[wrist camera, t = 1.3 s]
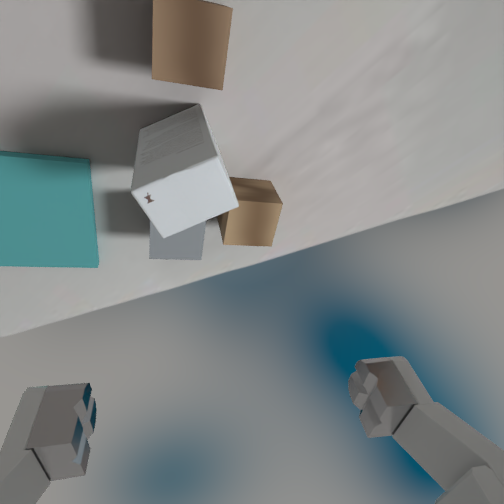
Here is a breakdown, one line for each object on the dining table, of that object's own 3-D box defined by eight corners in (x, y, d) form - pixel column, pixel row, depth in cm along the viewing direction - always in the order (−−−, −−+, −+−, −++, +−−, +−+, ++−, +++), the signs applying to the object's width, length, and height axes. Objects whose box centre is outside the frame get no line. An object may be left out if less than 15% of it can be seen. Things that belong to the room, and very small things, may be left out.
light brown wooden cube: (217, 218, 38) (223, 244, 34) (223, 176, 35) (231, 199, 31) (260, 220, 39) (271, 246, 35) (270, 180, 36) (282, 203, 32)
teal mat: (-29, 259, 35) (-33, 265, 34) (-71, 144, 28) (-78, 148, 27) (99, 262, 38) (97, 267, 37) (89, 159, 31) (87, 163, 30)
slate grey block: (151, 230, 37) (149, 258, 33) (152, 188, 34) (150, 214, 30) (197, 232, 38) (201, 260, 34) (202, 192, 35) (206, 217, 31)
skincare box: (162, 169, 33) (160, 241, 24) (138, 128, 30) (126, 191, 21) (220, 145, 33) (241, 208, 23) (201, 101, 30) (217, 153, 21)
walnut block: (153, 65, 28) (151, 78, 24) (155, -11, 25) (153, -10, 21) (215, 76, 29) (222, 90, 25) (223, 5, 26) (232, 8, 22)
